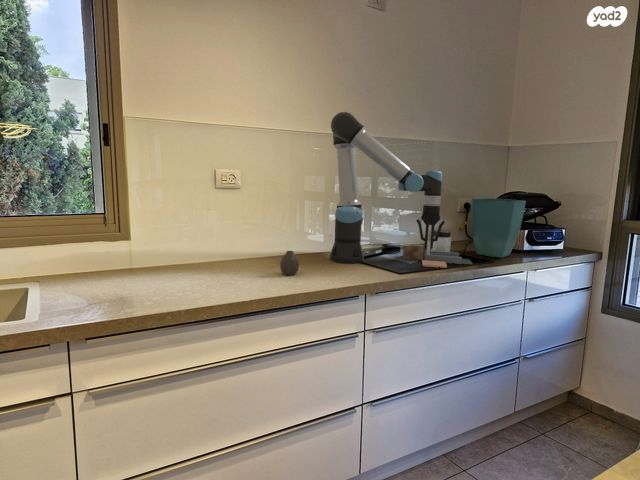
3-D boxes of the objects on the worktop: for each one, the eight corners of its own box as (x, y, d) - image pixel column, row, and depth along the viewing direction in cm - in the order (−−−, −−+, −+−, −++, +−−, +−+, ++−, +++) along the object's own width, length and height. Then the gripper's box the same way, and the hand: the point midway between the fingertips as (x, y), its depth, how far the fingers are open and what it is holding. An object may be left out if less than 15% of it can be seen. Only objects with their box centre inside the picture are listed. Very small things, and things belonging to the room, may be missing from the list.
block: (402, 258, 193) (403, 245, 192) (403, 256, 200) (404, 243, 199) (422, 260, 191) (423, 247, 190) (423, 257, 198) (424, 245, 197)
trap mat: (462, 264, 185) (462, 263, 185) (459, 259, 197) (459, 258, 197) (472, 264, 184) (472, 264, 184) (469, 259, 196) (469, 259, 196)
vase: (277, 272, 157) (278, 249, 155) (294, 271, 159) (295, 249, 158) (283, 277, 150) (284, 253, 149) (301, 276, 153) (302, 252, 152)
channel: (424, 261, 189) (424, 254, 188) (423, 256, 200) (424, 250, 200) (461, 264, 185) (461, 257, 185) (458, 259, 197) (459, 252, 197)
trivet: (422, 266, 178) (422, 264, 178) (422, 261, 188) (422, 260, 187) (446, 268, 176) (447, 266, 176) (445, 263, 185) (445, 261, 185)
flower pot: (520, 255, 212) (526, 200, 208) (507, 260, 197) (514, 201, 193) (481, 250, 225) (486, 197, 221) (466, 254, 210) (471, 198, 206)
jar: (443, 257, 199) (445, 232, 198) (428, 254, 205) (429, 230, 203) (452, 255, 206) (454, 231, 204) (437, 253, 211) (439, 229, 210)
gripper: (417, 204, 188) (413, 255, 192) (447, 206, 185) (442, 258, 189) (417, 203, 195) (413, 253, 199) (445, 205, 193) (441, 255, 196)
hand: (427, 255), depth 194 cm, fingers closed
